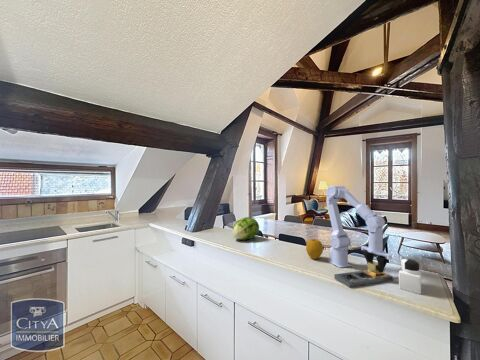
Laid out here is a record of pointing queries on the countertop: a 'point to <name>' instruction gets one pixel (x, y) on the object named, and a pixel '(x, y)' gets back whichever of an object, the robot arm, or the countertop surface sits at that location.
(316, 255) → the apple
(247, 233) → the lettuce
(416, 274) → the medicine bottle
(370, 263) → the tan rectangular block
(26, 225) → the countertop surface
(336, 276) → the grey rectangular frame
